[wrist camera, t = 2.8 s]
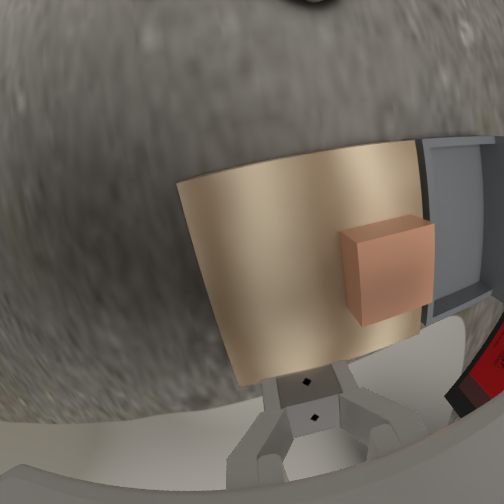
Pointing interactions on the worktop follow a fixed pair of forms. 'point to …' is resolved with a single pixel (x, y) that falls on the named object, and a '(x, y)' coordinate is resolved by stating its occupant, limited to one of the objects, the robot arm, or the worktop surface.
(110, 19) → the worktop surface
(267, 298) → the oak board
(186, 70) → the worktop surface
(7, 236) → the worktop surface
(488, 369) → the cleaning product box
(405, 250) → the terracotta tile
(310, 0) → the salt shaker
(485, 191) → the tray
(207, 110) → the worktop surface
